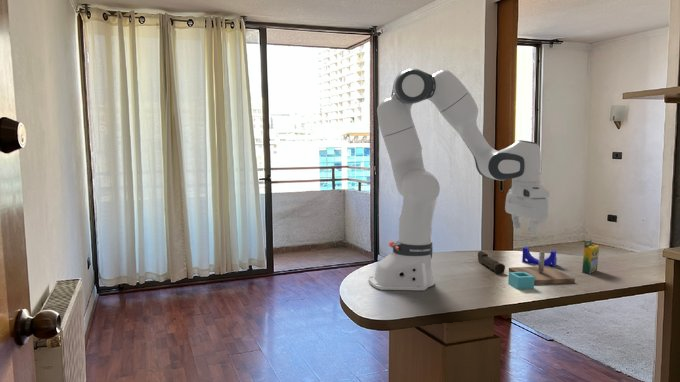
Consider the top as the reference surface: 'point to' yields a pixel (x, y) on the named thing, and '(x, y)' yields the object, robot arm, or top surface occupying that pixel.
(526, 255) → the blue curved cradle
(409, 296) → the top surface
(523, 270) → the post stand
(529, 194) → the robot arm
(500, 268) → the dark brown rod
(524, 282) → the collar
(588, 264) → the crayon box
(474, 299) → the top surface
